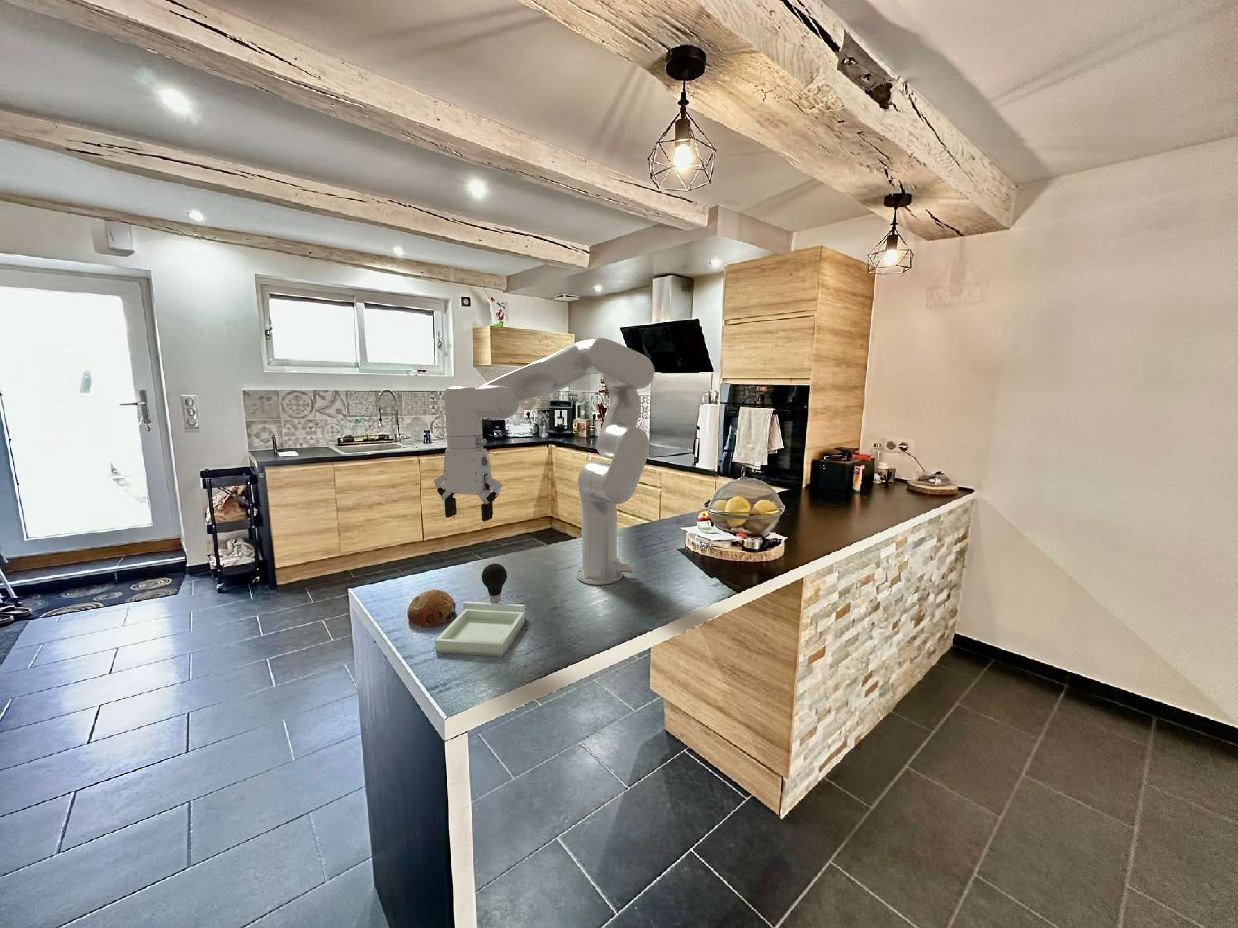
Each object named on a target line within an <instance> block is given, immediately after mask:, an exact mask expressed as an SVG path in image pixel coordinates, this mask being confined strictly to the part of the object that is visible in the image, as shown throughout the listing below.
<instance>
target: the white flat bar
mask: <svg viewBox="0 0 1238 928" xmlns="http://www.w3.org/2000/svg"><path fill="white" fill-rule="evenodd" d="M462 605H463V606H462V607H463V610H464V609H475V610H493V611H510V612H524V618H525V617H526V615H525V613H526V611H525V604H518V603H500V602H499V603H491V602H479V601H463V604H462Z"/></svg>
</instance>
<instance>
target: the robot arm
mask: <svg viewBox="0 0 1238 928" xmlns="http://www.w3.org/2000/svg"><path fill="white" fill-rule="evenodd" d="M598 374H599V375H601V376H602V380H603V382H604V384H605V386H606V388H607V391H608V394H609V406H608V410H607V412H606V415H605V418H604V420H603V422H602V426H601V428H600V430H599V433H598V436H597V440H596V443H595V444H596V450H597V452H598V454H599V455H600V456H602V458H605V459H609V460H611V462H610V463H608V462H604V461H603V462H602V461H591V462H588V463H586V464H585V465H584V466H583V467H582V468H580V471H579V473H578V478H577V486H578V487H577V488H578V491H579V492H578V493H579V498H580V504H581V507H580V508H581V567H580V568H578V570H577V571H576V578H577V580H578V581H580V582H582V583H584V584H588V585H593V586H594V585H595V586H596V585H600V586H603V585H610V584H614V583H616V582H618V581H620V580H621V579H622V578H623V573H626V574H633V573H634V565H630V563H627V562H626V563H623V562H621V561H620V557H618V512H617V511H618V510H617V505H621V504H624V503H626V502H628V501H629V500H630V499H631V498H632V497H633V495H634V493H635V492H636V489H637V487H638V484H639V481H640V479H641V476H642V473H643V471H644V467H645V465H646V463H647V459H648V456H649V453H650V439H649V437H648V434H647V433H646V432H645V431H644V430H643V429H641V428H640V427H638V426H637V425H638V420H639V418H640V414H641V410H642V408H641V405H642V404H641V399H640V396H639V392H638V390H642V389H645V388H646V387H648V386H649V385H651V383H652V382H653V380H654V377H655V367H654V364H653V362H652V361H651V359H649V358H648V357H647V356H646V355H645V354H643V353H641V352H638V351H636V350H634V349H632V348H629V347H627V346H625V345H622V344H621V343H619V342H616V341H614V340H612V339H608V338H605V337H596V338H589V339H582V340H580V341H577V342H575V343H573V344H571V345H569V346H565V348H562V349H560V350H558V351H556V352H554V353H552V354H550V355H548V356H545V357H544V358H541V359H539V360H537V361H534V362H532V363H529V364H528V365H525V366H523V367H521V368H518V369H516V370H513V371H511V372H509V373H506V374H504V375H502V376H500V377H498V378H495V379H494V380H491V381H489V382H487V383H485V384H483V385H481V386H479V387H475V386H450V387H447V388H445V390H444V394H443V395H444V412H445V413H444V416H445V426H446V428H445V429H446V430H445V431H446V447H447V448H446V449H445V450H444V451H445V452H444V456H443V457H444V459H443V474H441V475H440V476H438V477H436V478H435V479H434V480H433V483H434V485H435V487H436V489H437V493H438V494H439V495H440V497H441V498H440V499H441V500H442V501H443V502H444V515H445V518H447V519H448V518H451V517H454V516H456V515H457V514H458V513H457V499H456V497H454V496H455V495H456V494H458V495H471V496H478V497H479V498H480V500H481V501H482V503H481V505H480V507H481V521H482V522H488V521H489V520H492V519H493V515H494V508H493V505H494V504H493V503H494V502H495V500H496V499H497V497H499V495H500V492H501V490H502V488H503V484H502V483H501V482H499V481H498V480H496V479H495V478H494V477H493V476H492V468H491V462H490V457H489V454H488V451H487V448H484V445H487V443H488V441H487V439H486V438H483V437H484V435H483V421H482V419H493V420H507V419H509V418H511V417H513V416H514V415H515V414H516V413H517V412H518V410H519V407H520V403H521V402H523V401H526V400H529V399H532V398H533V399H534V398H540V397H544V396H545V397H546V396H549V395H552V394H555V393H558V392H560V391H561V390H563V389H565V388H568V387H569V386H571V385H573V384H575V383H577V382H578V381H581V380H583V379H584V378H587V377H588V376H591V375H598Z"/></svg>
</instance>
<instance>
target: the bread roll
mask: <svg viewBox="0 0 1238 928" xmlns="http://www.w3.org/2000/svg"><path fill="white" fill-rule="evenodd" d="M456 607H457V604H456V602H455V601H454V598H453V597H452V595H450V593H449V592H446V590H445V591H444V590H441V589H430V590H427V591H424V592H421V593H420V594H418V595H417V596H415V597H414V598H413V599H412V601H410V604H409V606H408V608H407V613H406V614H407V619H408V621H409V623H410V624H411V625H413V626H417V627H421V628H433V627H438V626H441V625H444V624H446V623H448V622H450V621H452V620H453V618H454V617H455V615H456V611H457V610H456Z"/></svg>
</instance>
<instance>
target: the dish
mask: <svg viewBox="0 0 1238 928" xmlns="http://www.w3.org/2000/svg"><path fill="white" fill-rule="evenodd" d="M525 621H526V620H525V618H524V612H510V611H493V610H475V609H464V608H463V611H462V612H460V614H459V615H458V616H456V618H455V619H454V620H453V621H452V622H451V623H450V624H449V625H448V626H447V627H446V629H444V630H443V631H442V632H441V634H439V635H438V637H437V638H436V639H434V647H435V653H443V654H455V655H456V654H457V655H458V654H459V655H467V656H468V655H472V656H485V657H499V658H503V657H504V656H505V654H506V653H507V651H508V649H509V648H510V646H511V645H512V644H513V642H514V640H515V639H516V637H517V635H518V634H519V633H520V631H521V629H522V628H523V626H524V624H525Z"/></svg>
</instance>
